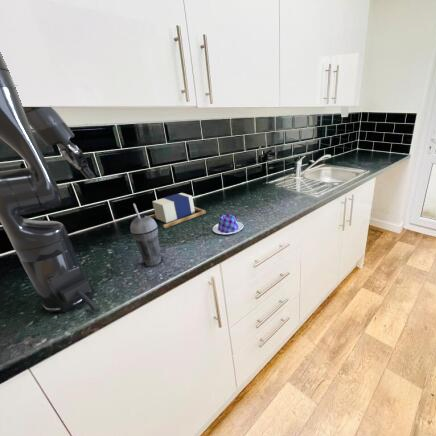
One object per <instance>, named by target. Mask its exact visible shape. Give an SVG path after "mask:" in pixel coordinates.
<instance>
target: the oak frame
mask: <svg viewBox="0 0 436 436" xmlns="http://www.w3.org/2000/svg"><path fill="white" fill-rule="evenodd" d="M194 209H195V213H192V214H190V215H187V216H184V217H182V218H179V219H176V220H173V221H171V222H168V223H165V224H162V228H163V229H167V228H170V227H172V226H175V225H177V224H181V223H183V222H186V221H189V220H191V219H194V218H197V217H200V216H202V215H204V214H207V211H206V210H205V209H202V208H199V207H197V206H194ZM148 216H149V217H151V218H152V219H154V218H155V219H156V215H155V213H154V214H150V215H148Z"/></svg>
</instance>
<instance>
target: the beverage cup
mask: <svg viewBox="0 0 436 436" xmlns="http://www.w3.org/2000/svg"><path fill="white" fill-rule="evenodd" d="M132 205H133V208H134V210H135V213H136V216H137V217H135V218H134V219H133V220H132V221H131V223H130V234H131V236H132V238H133V239H134V242H135V243H136V246H137V249H138V251H139V253H140V256H141V258H142V260H143V262H144V264H145V266H146V267H147V266H148V267H153V266H156V265H158V264H159V263H161V262H162V255H161V248H160V247H161V246H160V239H159V226H158V224H157V222H156V220H155V219H154V218H151V217H149V216H150V215H140V213H139V210H138V208H137V205H136V203H133V204H132Z"/></svg>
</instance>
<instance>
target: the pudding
mask: <svg viewBox="0 0 436 436" xmlns="http://www.w3.org/2000/svg"><path fill="white" fill-rule="evenodd" d="M244 226H245V225H244V223H242V222H241V221H237V219H236V217H235V215H233V214H230V213H229V214H228V213H227V214H224V215H221V216H220V217H219V219H218V222H217V224H215V225H214V226H213V227H212V232H214V233H215V234H217V235H218V234H219V235H232V234H236V233H238V232H240V231H241V230H243V228H244Z"/></svg>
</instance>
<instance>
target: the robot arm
mask: <svg viewBox="0 0 436 436" xmlns="http://www.w3.org/2000/svg"><path fill="white" fill-rule="evenodd" d="M15 86H16V84H15V82H14V80H13V77H11V75H10V72H9V70H8V68H7V65H6V63H5V61H4V59H3V56H2V54H1V52H0V140H2V141H3V142H4V143H5V144H7V145H8V146H10V148H12V149H13V150H14V151H15V152H16V153H17V154H18V155H19V156H20V157H21V158H22V159H23V160H24V162H25V163H26V165H27V167H24V168H17V169H16V168H15V169H9V170H2V171H1V170H0V225H2V227H3V229H4V231H5V233H6V235H7V238H8V239H9V242H10V243H11V246H12V247H13V249H14V251H15V253H16V255H17V257H18V259H19V261H20V263H21V265H22V268H23V269H24V271H25V273H26V274H27V277H28V278H29V280H30V282H31V284H32V286H33V288H34V291H35V293H36V295H37V296H38V297H39V300H40V301H41V303H42V307H43V308H44V310H45V311H46V312H49V313H60V312H62V313H66V312H68V311H70V310H72V309H74V308H75V307H77V306H79V305H80V304H83V303H84V302H85V303H86V304H87V306H88V307H89V308H90V309H91V311H92V312H94V311H96V310H98V307H97V306H96V304H95V303H94V302H93V301H92V299H91V298H92V297H93V296H92V292H93V291H92V288H91V285H90V283H89V281H88V279H87V277H86V274H85V272H84V270H83V268H82V265H81V262H80V261H79V258H78V255H77V253H76V250H75V248H74V246H73V243H72V241H71V238H70V236H69V233H68V230H67V229H66V228H67V227H66V226H65V225H64V223H62V222H60V221H58V220H57V221H56V220H39V219H38V220H37V219H30V218H27V217H23V216H22V215H27V214H32V213H37V212H41V211H46V210H49V209H50V210H51V209H55V208H58V207H59V206H60V205H61V203H62V195H61V191H60V189H59V185H58V183H57V182H56V179H55V177H54V174H53V173H52V171H51V169H50V167H49V164H48V162H47V161H46V158H45V157H44V154H43V152H42V150H41V148H40V146H39V144H38V142H37V139H36V137H35V134H34V133H33V132H35V133H36V135H37V136H38V137H39V138H40V140H42V142H43V143H44V144H45V145H46V146H47V147H52V146H57V148H58V149H59V150H58V151H59V153H60V155H61V156H62V157H63V158H64V159H65V160H66V161H68V163H69V164H71V165H72V166H73V168H75V169H77V170H79V171H80V173H81V174H82V175H83V176H84V177H85V179H86V180H88V181H91V180H92V179H94V178H96V175H95V174H94V172H93V171H92V170H91V168H90V167H89V162H88V160H87V158H86V156H85V154H84V153H83V151H82V149H81V148H79V147H78V146H77V145H76V144H74V143H72V142H71V140H70V139H73V138H75V133H73V130H71V128H70V126H69V125H68V124H67V123H66V122H65V120H64V119H63V118H62V117H61V115H60V114H59V113H58V112H57V111H56V110H55V109H54V108H53V106H52V107H23V106H22V103H21V100H20V98H19V95H18V92H17V90H16V87H15Z"/></svg>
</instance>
